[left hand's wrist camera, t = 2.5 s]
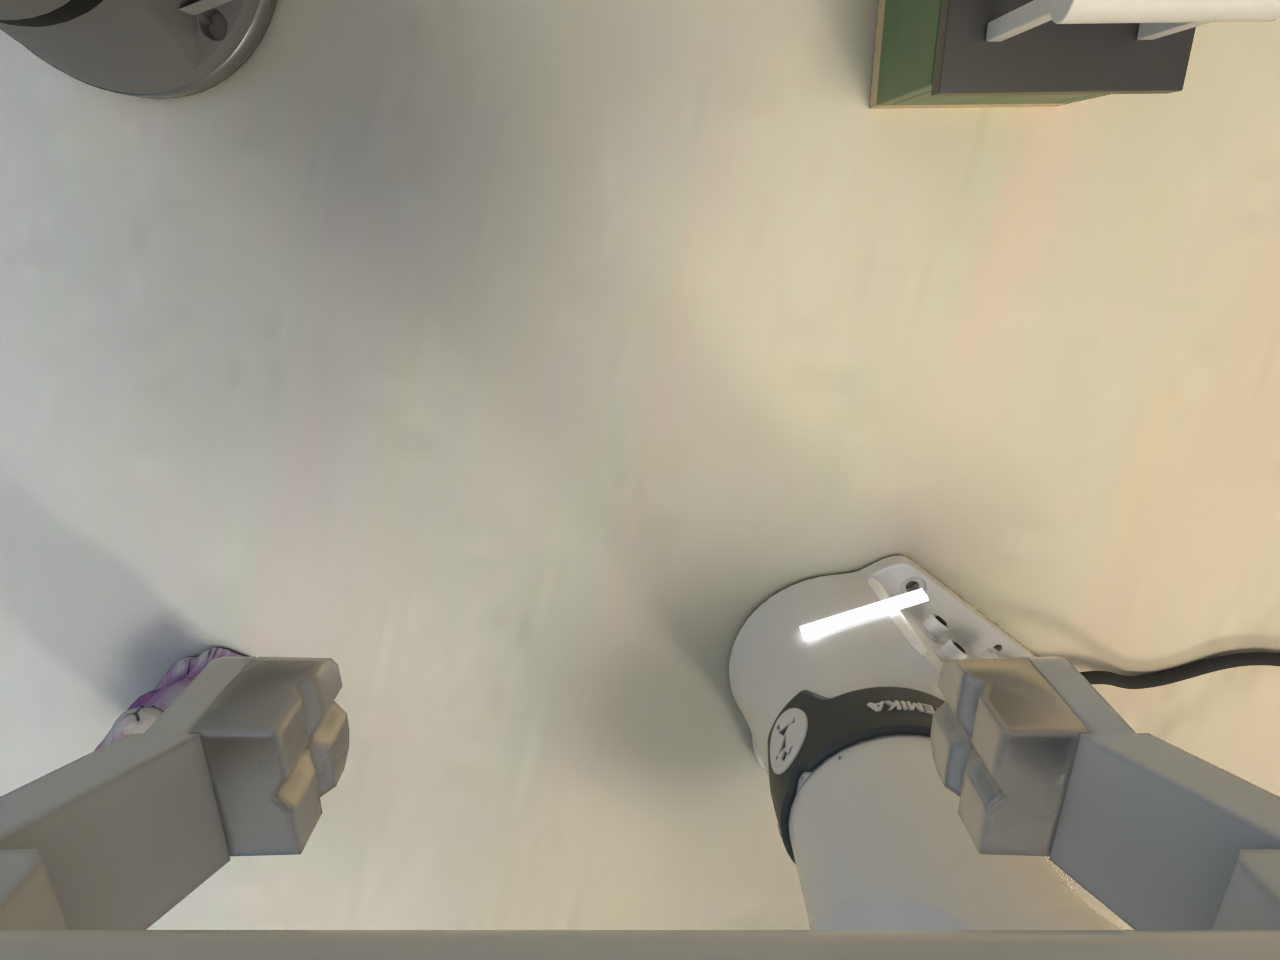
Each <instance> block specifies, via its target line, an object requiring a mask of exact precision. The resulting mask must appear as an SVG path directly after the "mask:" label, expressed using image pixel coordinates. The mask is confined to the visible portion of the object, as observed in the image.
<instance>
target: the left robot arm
mask: <svg viewBox="0 0 1280 960" xmlns="http://www.w3.org/2000/svg"><path fill="white" fill-rule="evenodd" d="M910 581H915V584H914V585H913V586H911V587H906V585H907V583H908V582H910ZM1248 665H1273V666H1280V654H1279V653H1261V652H1255V653H1240V654H1232V655H1226V656H1221V657H1216V658H1212V659H1208V660H1204V661H1201V662H1197V663H1194V664H1190V665H1187V666H1183V667H1180V668H1176V669H1173V670H1169V671H1165V672H1161V673H1156V674H1150V675H1143V676H1123V675H1119V674H1115V673H1111V672H1106V671H1088V672H1079V671H1078V670H1077V669H1076V668H1075V667H1074V666H1073V665H1072V663H1071V662H1070V661H1069V660H1067V659H1064V658H1062V657H1060V656H1048V657H1036V656H1035V655H1034V654H1033V653H1031V652H1030V651H1029V650H1027V649H1026V648H1025V647H1024V646H1022V645H1021V644H1020V643H1018V642H1017V641H1016V640H1015V639H1013V638H1012V637H1011V636H1009V635H1008V634H1007V633H1005V632H1004V631H1003V630H1002V629H1000V628H999V627H998V626H996V625H995V624H994V623H993V622H991V621H990V620H989V619H987V618H986V617H985V616H983V615H982V614H981V613H980V612H978V611H977V610H976V609H974V608H973V607H972V606H971V605H969V604H968V603H967V602H965V601H964V600H963V599H962V598H960V597H959V596H958V595H956V594H955V593H954V592H952V591H951V590H950V589H949V588H947V587H946V586H945V585H943V584H942V583H941V582H940V581H938V580H937V579H936V578H934V577H933V576H932V575H931V574H929V573H928V572H927V571H925V570H924V569H923V568H921V567H920V566H919V565H918V564H916V563H915V562H914V561H912V560H911V559H910V558H908V557H906V556H902V555H894V556H890V557H887V558H884V559H882V560H880V561H877V562H875V563H873V564H871V565H869V566H867V567H865V568H863V569H861V570H859V571H856V572H851V573H845V574H836V575H827V576H821V577H816V578H811V579H808V580H805V581H802V582H799V583H796V584H794V585H791V586H789V587H787V588H785V589H783V590H781V591H780V592H778V593H776V594H775V595H773V596H772V597H770V598H769V599H768V600H766V601H765V602H764V603H763V604H761V605H760V606H759V607H758V608H757V609H756V610H755V611H754V612H753V613H752V614H751V616H750V617H749V618H748V619H747V621H746V622H745V623H744V625H743V626H742V628H741V630H740V631H739V633H738V635H737V637H736V639H735V642H734V645H733V648H732V651H731V655H730V661H729V680H730V686H731V690H732V693H733V696H734V699H735V701H736V703H737V705H738V707H739V709H740V710H741V712H742V714H743V715H744V717H745V719H746V721H747V723H748V725H749V728H750V730H751V732H752V744H753V750H754V754H755V757H756V759H757V762H758V764H759V766H760V767H761V768H762V769H763V770H765V771H766V772H767V774H768V777H769V781H770V790H771V795H772V800H773V804H774V808H775V812H776V816H777V820H778V824H777V825H778V829H779V833H780V835H781V837H782V839H783V843H784V845H785V848H786V850H787V852H788V854H789V856H790V857H791V859H792V861H793V862H794V863H795V865H796V867H797V871H798V876H799V880H800V884H801V889H802V893H803V897H804V902H805V906H806V910H807V915H808V919H809V923H810V927H811V930H146V929H147V928H149V927H150V926H151V925H152V924H153V923H155V922H156V921H157V920H158V919H159V918H161V917H162V916H163V915H164V914H166V913H167V912H168V911H169V910H170V909H172V908H173V907H174V906H175V905H176V904H178V903H179V902H180V901H181V900H183V899H184V898H185V897H186V896H187V895H189V894H190V893H191V892H192V891H193V890H195V889H196V888H197V887H198V886H199V885H201V884H202V883H203V882H204V881H206V880H207V879H208V878H209V877H210V876H212V875H213V874H214V873H215V872H216V871H218V870H219V869H220V868H221V867H223V866H224V865H225V864H226V863H227V862H229V861H230V856H256V855H291V854H301V853H302V851H303V849H304V847H305V845H306V843H307V841H308V839H309V837H310V835H311V833H312V831H313V829H314V828H315V826H316V824H317V822H318V820H319V818H320V816H321V814H322V808H321V802H320V797H321V796H322V795H324V794H325V793H327V792H328V791H330V790H331V789H333V788H334V787H335V786H336V785H337V783H338V781H339V779H340V777H341V774H342V772H343V770H344V767H345V763H346V758H347V754H348V749H349V725H348V718H347V713H346V712H345V711H344V710H343V709H342V708H341V707H340V706H339V705H338V704H337V703H336V702H335V701H334V699H335V697H336V696H337V694H338V692H339V691H340V689H341V687H342V682H341V677H340V672H339V667H338V664H337V663H336V662H335V661H334V660H332V659H331V658H290V657H258V658H256V657H220V658H216V659H213V660H211V661H210V662H209V664H208V665H207V666H206V667H205V668H204V669H203V670H202V671H201V672H200V673H199V674H198V675H197V677H196V678H195V679H194V680H193V681H192V682H191V683H190V684H189V685H188V686H187V687H186V688H185V689H184V691H183V692H182V693H181V694H180V695H179V696H178V697H177V698H176V699H175V700H174V701H173V702H172V703H171V705H170V706H169V707H168V708H167V709H166V710H165V711H164V712H163V713H162V714H161V715H160V716H159V717H158V719H157V720H156V721H155V722H154V723H153V724H152V725H151V726H150V727H149V728H148V729H147V730H146V731H145V733H144V734H129V735H127V736H125V737H123V738H121V739H119V740H117V741H115V742H113V743H111V744H109V745H107V746H104V747H102V748H100V749H98V750H96V751H94V752H92V753H90V754H88V755H86V756H84V757H82V758H80V759H78V760H76V761H73V762H71V763H69V764H67V765H65V766H63V767H61V768H59V769H57V770H55V771H53V772H51V773H49V774H47V775H45V776H43V777H40V778H38V779H36V780H34V781H32V782H30V783H28V784H26V785H24V786H22V787H20V788H18V789H16V790H14V791H12V792H9V793H7V794H5V795H3V796H1V797H0V960H1280V797H1278V796H1276V795H1274V794H1272V793H1270V792H1268V791H1266V790H1264V789H1262V788H1260V787H1258V786H1256V785H1254V784H1252V783H1250V782H1248V781H1245V780H1243V779H1241V778H1239V777H1237V776H1235V775H1233V774H1231V773H1229V772H1227V771H1225V770H1223V769H1221V768H1219V767H1217V766H1215V765H1213V764H1210V763H1208V762H1206V761H1204V760H1202V759H1200V758H1198V757H1196V756H1194V755H1192V754H1190V753H1188V752H1186V751H1184V750H1182V749H1180V748H1178V747H1175V746H1173V745H1171V744H1169V743H1167V742H1165V741H1163V740H1161V739H1159V738H1157V737H1155V736H1153V735H1151V734H1136V733H1135V731H1134V730H1133V729H1132V728H1131V727H1130V726H1129V725H1128V724H1127V723H1126V722H1125V721H1124V720H1123V719H1122V717H1121V716H1120V715H1119V714H1118V713H1117V712H1116V711H1115V710H1114V709H1113V708H1112V707H1111V706H1110V704H1109V703H1108V702H1107V701H1106V700H1105V699H1104V698H1103V697H1102V696H1101V695H1100V694H1099V693H1098V692H1097V690H1096V689H1095V688H1094V687H1093V686H1092V685H1091V684H1108V685H1113V686H1117V687H1121V688H1127V689H1141V688H1150V687H1156V686H1161V685H1166V684H1170V683H1174V682H1178V681H1182V680H1185V679H1189V678H1192V677H1196V676H1199V675H1203V674H1206V673H1210V672H1214V671H1218V670H1222V669H1227V668H1232V667H1238V666H1248ZM1044 856H1050V859H1049V860H1051V861H1052V862H1053V863H1054V864H1055V865H1057V866H1058V867H1059V868H1060V869H1061V870H1063V871H1064V872H1065V873H1066V874H1068V875H1069V876H1070V877H1071V878H1072V879H1074V880H1075V881H1076V882H1077V883H1078V884H1080V885H1081V886H1082V887H1083V888H1084V889H1086V890H1087V891H1088V892H1089V893H1091V894H1092V895H1093V896H1094V897H1095V898H1097V899H1098V900H1099V901H1100V902H1101V903H1103V904H1104V905H1105V906H1106V907H1107V908H1109V909H1110V910H1111V911H1112V912H1114V913H1115V914H1116V915H1117V916H1118V917H1120V918H1121V919H1122V920H1123V921H1124V922H1126V923H1127V924H1128V925H1129V926H1130V927H1132V928H1133V929H1134V930H1123V929H1121V928H1119V927H1118V926H1116V925H1115V924H1113V923H1111V922H1110V921H1108V920H1107V919H1105V918H1104V917H1103V916H1101V915H1100V914H1098V913H1097V912H1096V911H1095V910H1093V909H1092V908H1091V907H1090V906H1088V905H1087V904H1086V903H1085V902H1084V901H1083V900H1081V899H1080V898H1079V897H1078V896H1077V895H1076V894H1075V893H1074V892H1073V891H1072V890H1071V889H1070V888H1069V887H1068V885H1067V884H1066V883H1065V882H1064V881H1063V880H1062V879H1061V877H1060V876H1059V875H1058V874H1057V872H1056V871H1055V870H1054V868H1053V867H1052V866H1051V865H1050V863H1049V862H1048V861H1047V859H1046V858H1045V857H1044Z"/></svg>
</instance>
